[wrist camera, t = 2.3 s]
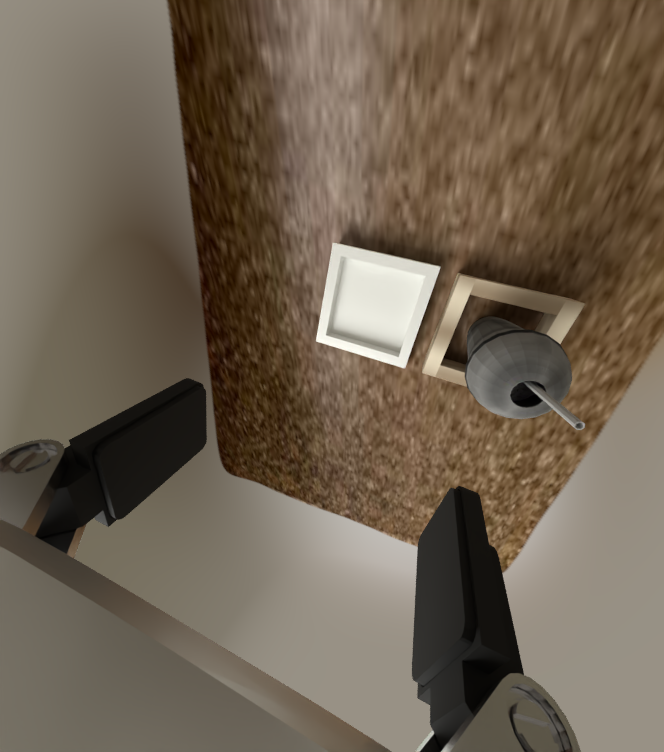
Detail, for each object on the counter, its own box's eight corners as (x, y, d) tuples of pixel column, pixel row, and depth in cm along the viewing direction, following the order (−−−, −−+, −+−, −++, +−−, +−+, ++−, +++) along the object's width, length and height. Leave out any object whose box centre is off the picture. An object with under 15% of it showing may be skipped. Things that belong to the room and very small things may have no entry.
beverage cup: (444, 321, 33) (460, 398, 16) (511, 291, 30) (620, 348, 13) (468, 372, 35) (504, 492, 18) (534, 349, 32) (658, 469, 14)
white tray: (339, 243, 34) (333, 242, 31) (440, 265, 31) (440, 267, 29) (322, 336, 39) (316, 341, 37) (406, 361, 37) (404, 368, 35)
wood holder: (457, 272, 31) (460, 274, 28) (571, 298, 29) (585, 303, 26) (422, 364, 36) (422, 372, 34) (515, 391, 34) (522, 403, 31)
